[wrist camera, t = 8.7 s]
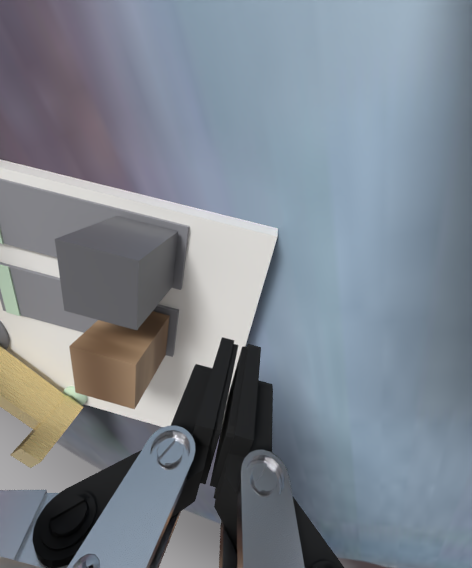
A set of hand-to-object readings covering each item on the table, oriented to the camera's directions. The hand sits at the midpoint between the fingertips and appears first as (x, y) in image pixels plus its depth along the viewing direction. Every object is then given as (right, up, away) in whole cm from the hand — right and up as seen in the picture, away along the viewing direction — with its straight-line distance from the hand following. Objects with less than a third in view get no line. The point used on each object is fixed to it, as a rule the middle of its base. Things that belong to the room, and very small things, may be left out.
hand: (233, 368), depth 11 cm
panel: (-12, +1, +12) cm, 17 cm away
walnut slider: (-7, 0, +9) cm, 12 cm away
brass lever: (-20, -4, +14) cm, 25 cm away
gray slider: (-6, +6, +6) cm, 10 cm away
